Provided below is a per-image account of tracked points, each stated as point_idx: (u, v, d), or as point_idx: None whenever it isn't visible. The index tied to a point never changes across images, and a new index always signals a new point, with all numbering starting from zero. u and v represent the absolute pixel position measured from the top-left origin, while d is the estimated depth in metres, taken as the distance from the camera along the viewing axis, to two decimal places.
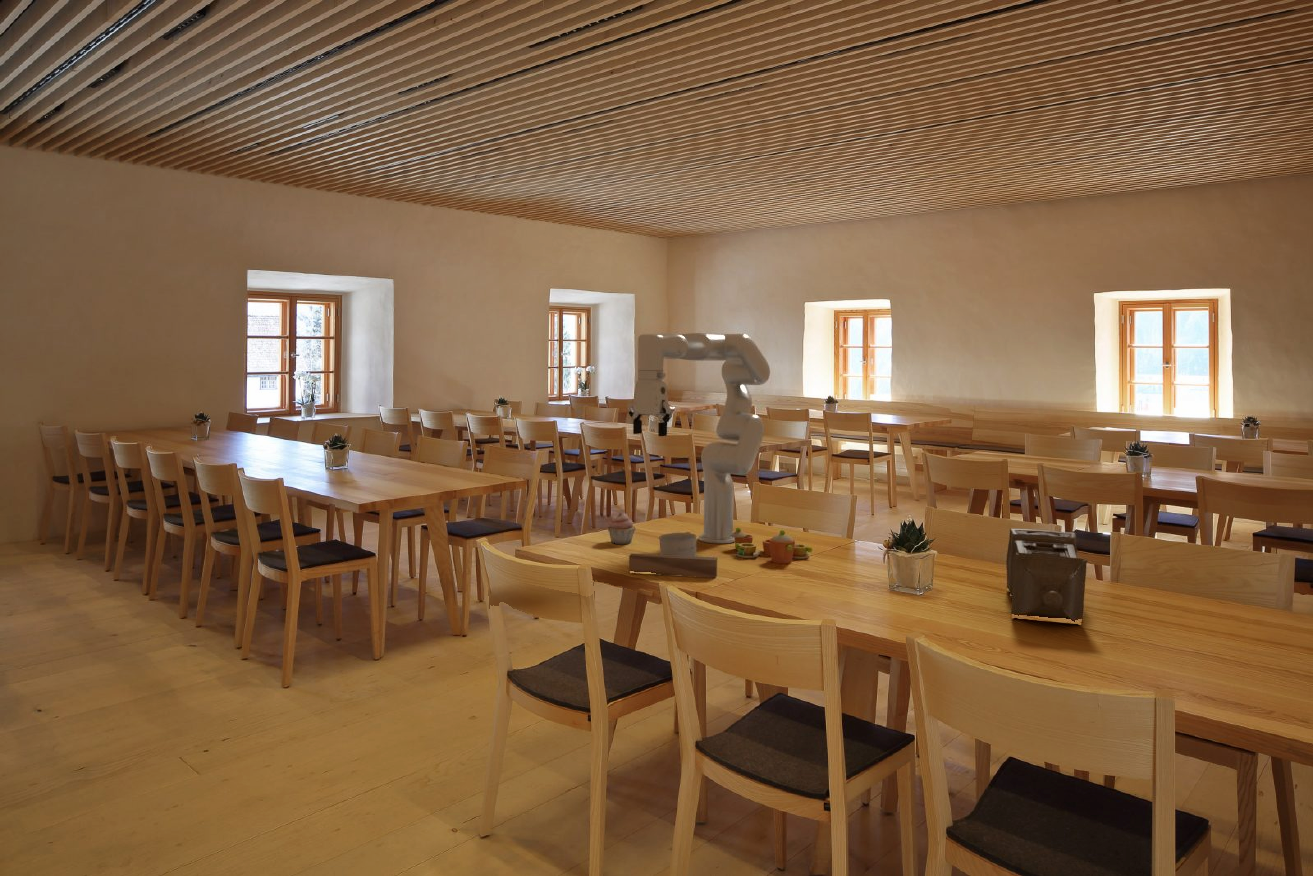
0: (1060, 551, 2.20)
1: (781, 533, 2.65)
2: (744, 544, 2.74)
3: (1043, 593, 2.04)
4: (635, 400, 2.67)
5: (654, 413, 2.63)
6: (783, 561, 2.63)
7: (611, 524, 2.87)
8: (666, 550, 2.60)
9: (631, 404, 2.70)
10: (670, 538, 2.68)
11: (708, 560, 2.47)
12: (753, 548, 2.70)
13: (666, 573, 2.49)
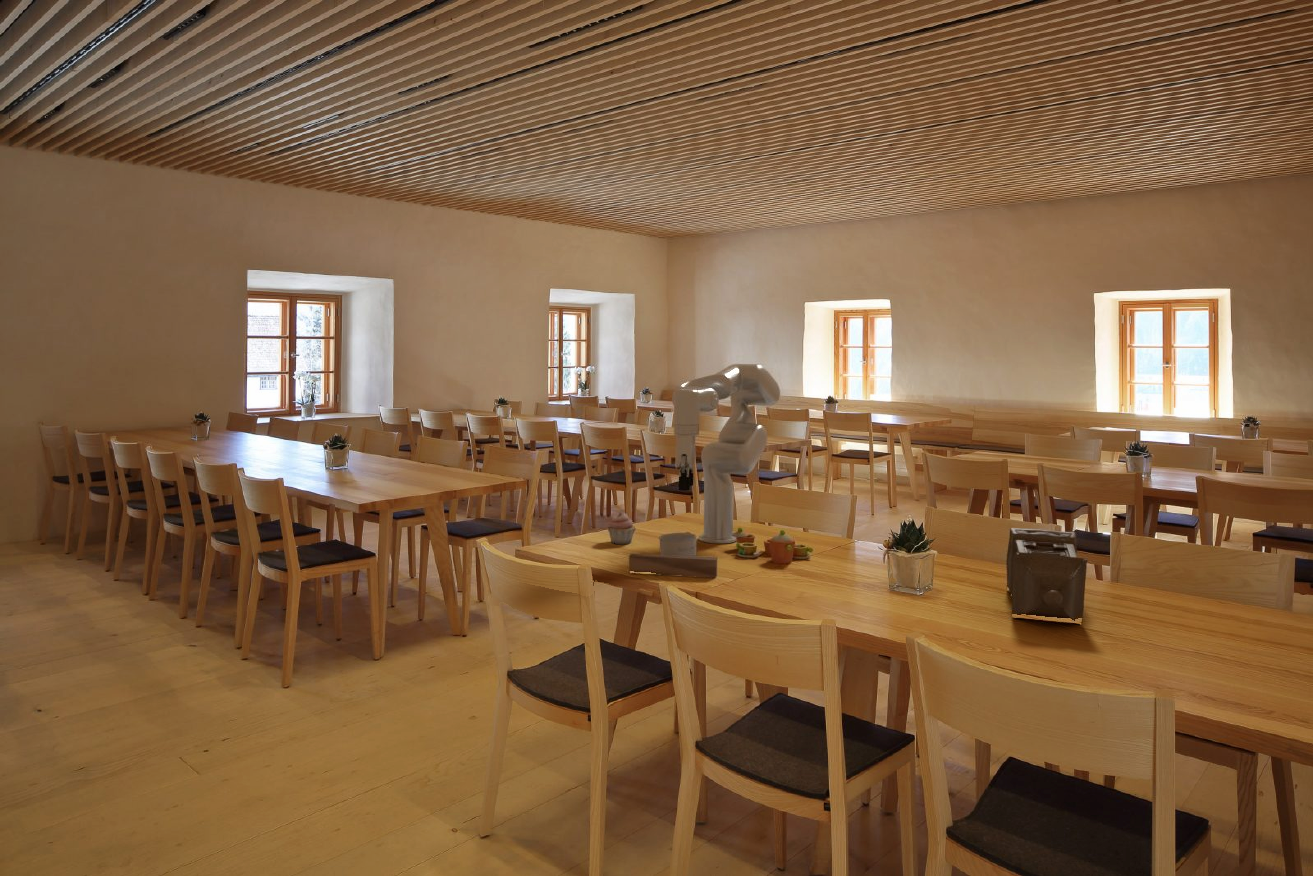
0: (1060, 550, 2.21)
1: (781, 533, 2.65)
2: (745, 544, 2.74)
3: (1044, 592, 2.04)
4: (691, 455, 2.69)
5: (694, 463, 2.76)
6: (783, 561, 2.63)
7: (611, 524, 2.87)
8: (666, 550, 2.60)
9: (685, 462, 2.67)
10: (670, 538, 2.68)
11: (708, 560, 2.47)
12: (754, 548, 2.71)
13: (666, 573, 2.49)
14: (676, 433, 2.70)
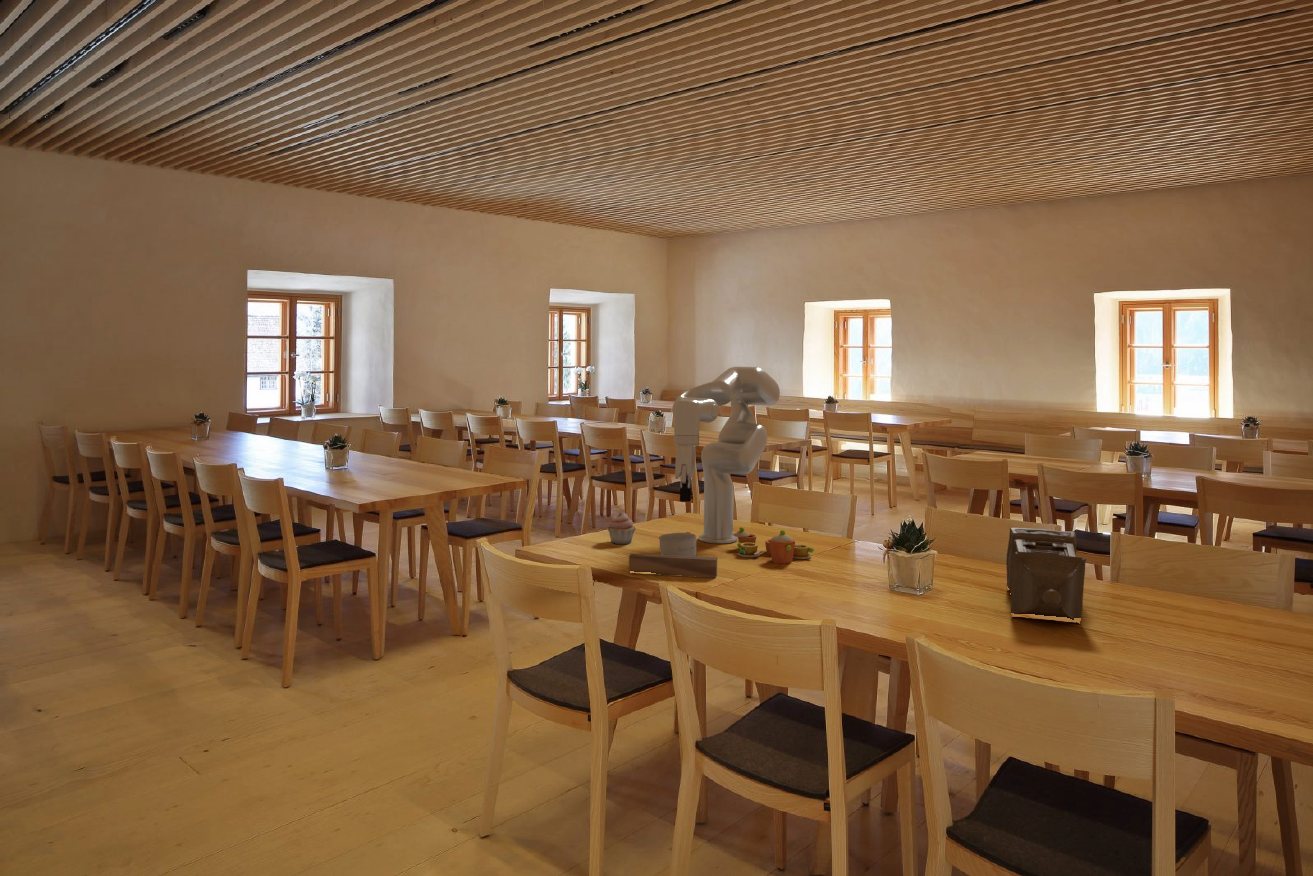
0: (1059, 550, 2.21)
1: (781, 533, 2.65)
2: (746, 544, 2.75)
3: (1042, 591, 2.05)
4: (691, 465, 2.69)
5: (693, 474, 2.76)
6: (783, 561, 2.63)
7: (611, 524, 2.87)
8: (666, 550, 2.60)
9: (685, 477, 2.69)
10: (670, 538, 2.68)
11: (708, 560, 2.47)
12: (754, 548, 2.71)
13: (666, 573, 2.49)
14: (676, 443, 2.70)
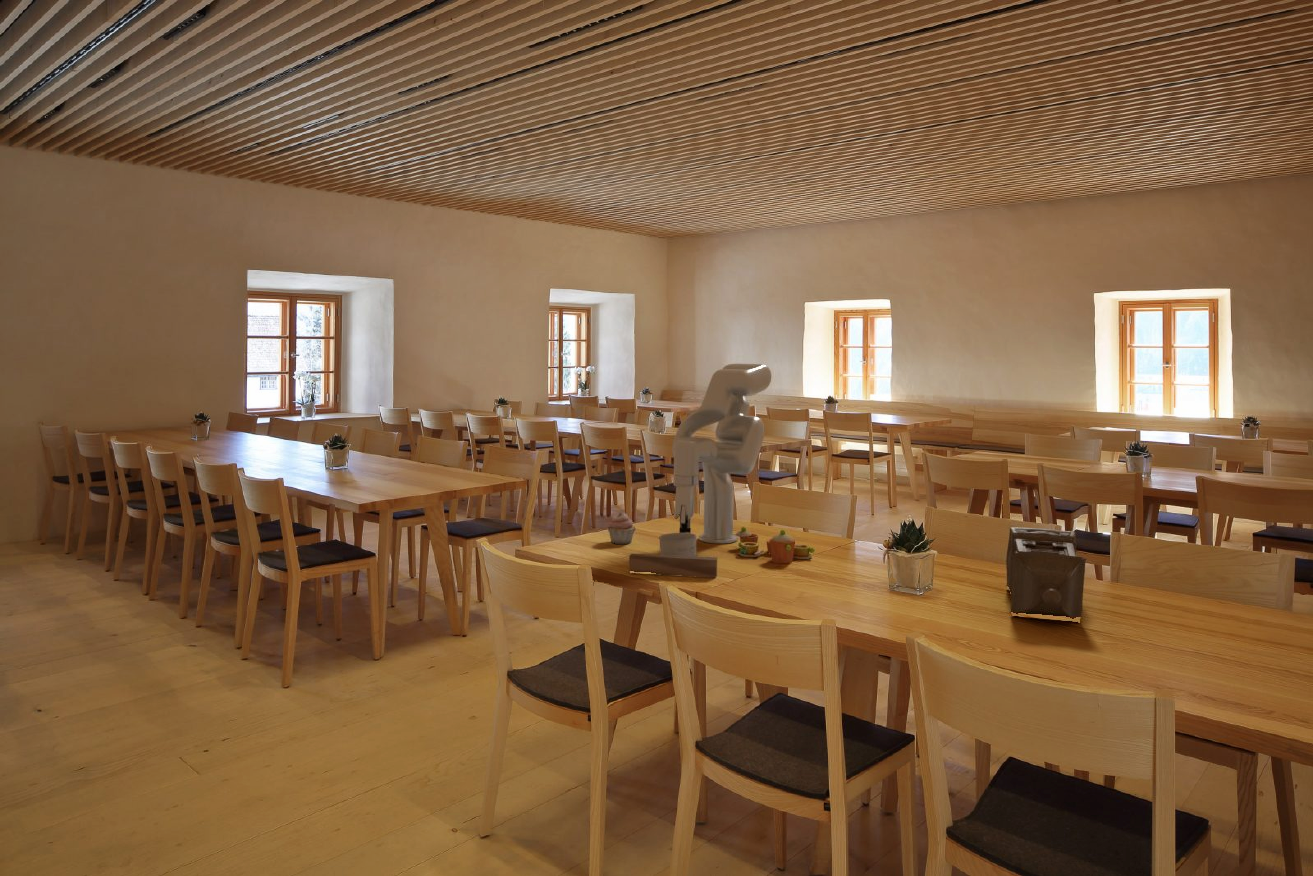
0: (1059, 549, 2.22)
1: (781, 533, 2.65)
2: (747, 543, 2.75)
3: (1042, 590, 2.05)
4: (691, 506, 2.70)
5: (693, 513, 2.78)
6: (782, 561, 2.63)
7: (611, 524, 2.87)
8: (666, 550, 2.60)
9: (685, 517, 2.70)
10: (670, 538, 2.68)
11: (708, 560, 2.47)
12: (755, 547, 2.71)
13: (666, 573, 2.49)
14: (676, 484, 2.72)
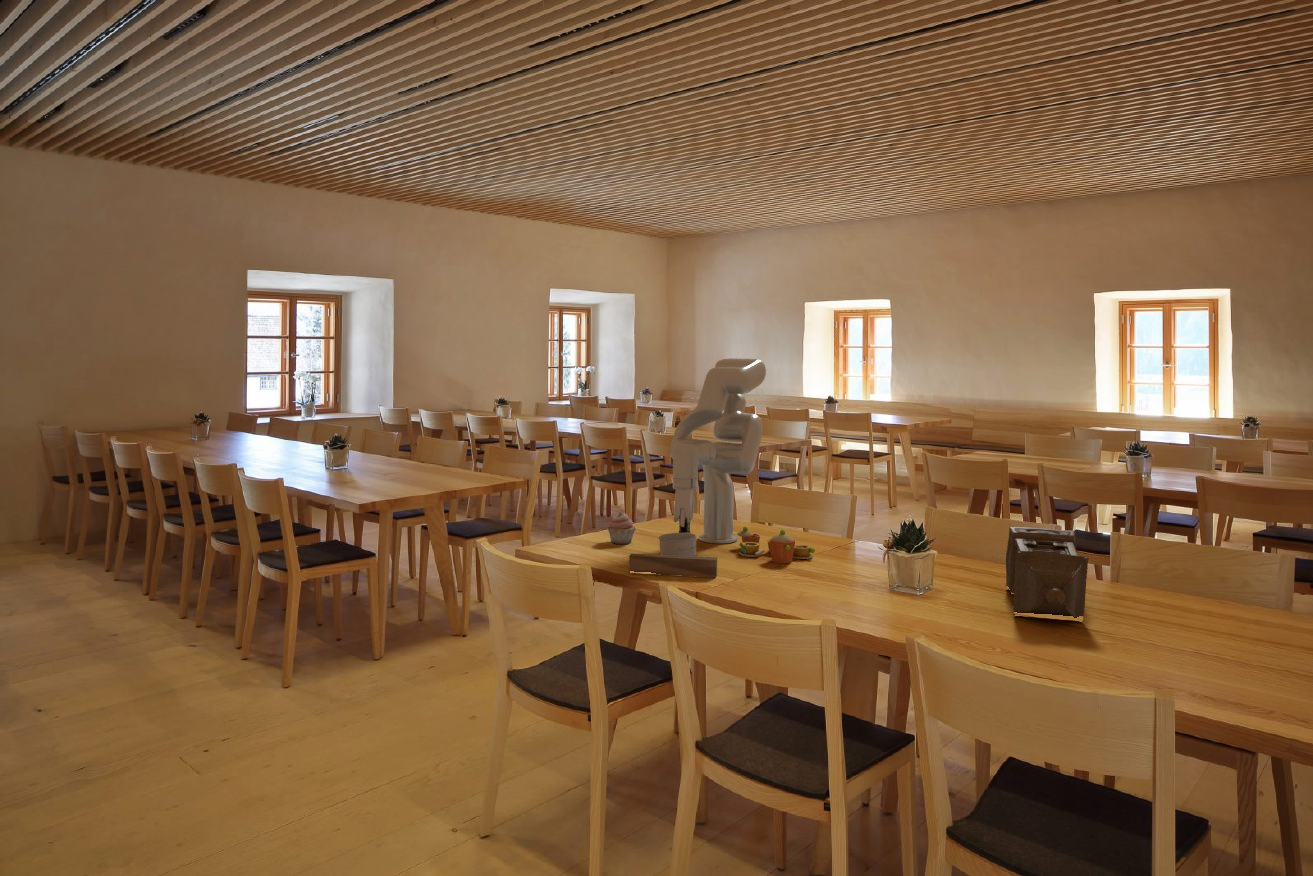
0: (1060, 549, 2.22)
1: (781, 533, 2.65)
2: (748, 543, 2.75)
3: (1046, 590, 2.06)
4: (690, 509, 2.68)
5: (692, 516, 2.76)
6: (782, 561, 2.63)
7: (611, 524, 2.87)
8: (666, 550, 2.60)
9: (684, 520, 2.68)
10: (670, 538, 2.68)
11: (708, 560, 2.47)
12: (755, 547, 2.72)
13: (666, 573, 2.49)
14: (675, 487, 2.70)
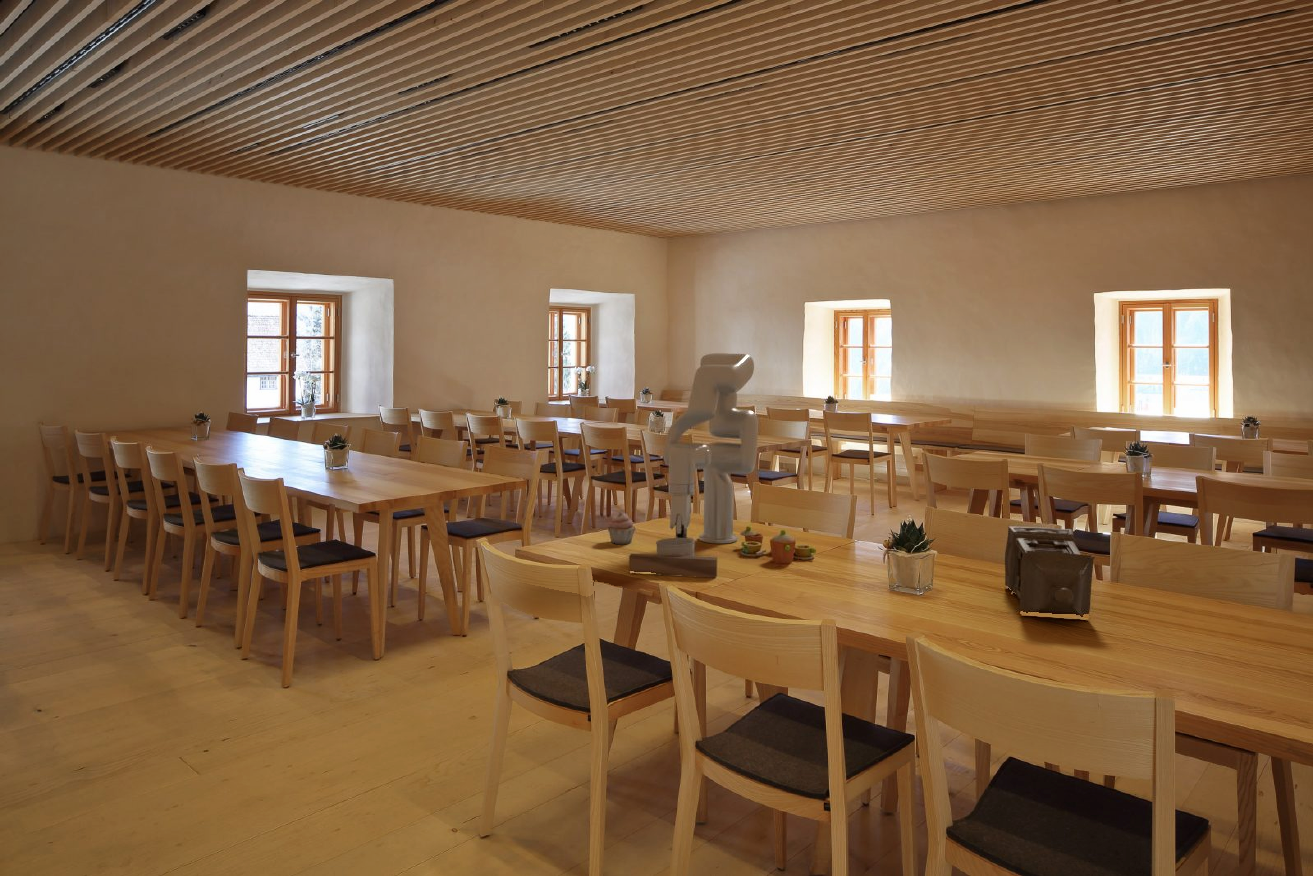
0: (1061, 548, 2.24)
1: (781, 533, 2.65)
2: (750, 543, 2.76)
3: (1054, 590, 2.06)
4: (687, 515, 2.60)
5: (689, 522, 2.68)
6: (782, 561, 2.63)
7: (611, 524, 2.87)
8: None
9: (681, 527, 2.60)
10: (671, 543, 2.61)
11: (708, 560, 2.47)
12: (757, 547, 2.72)
13: (666, 573, 2.49)
14: (671, 492, 2.62)
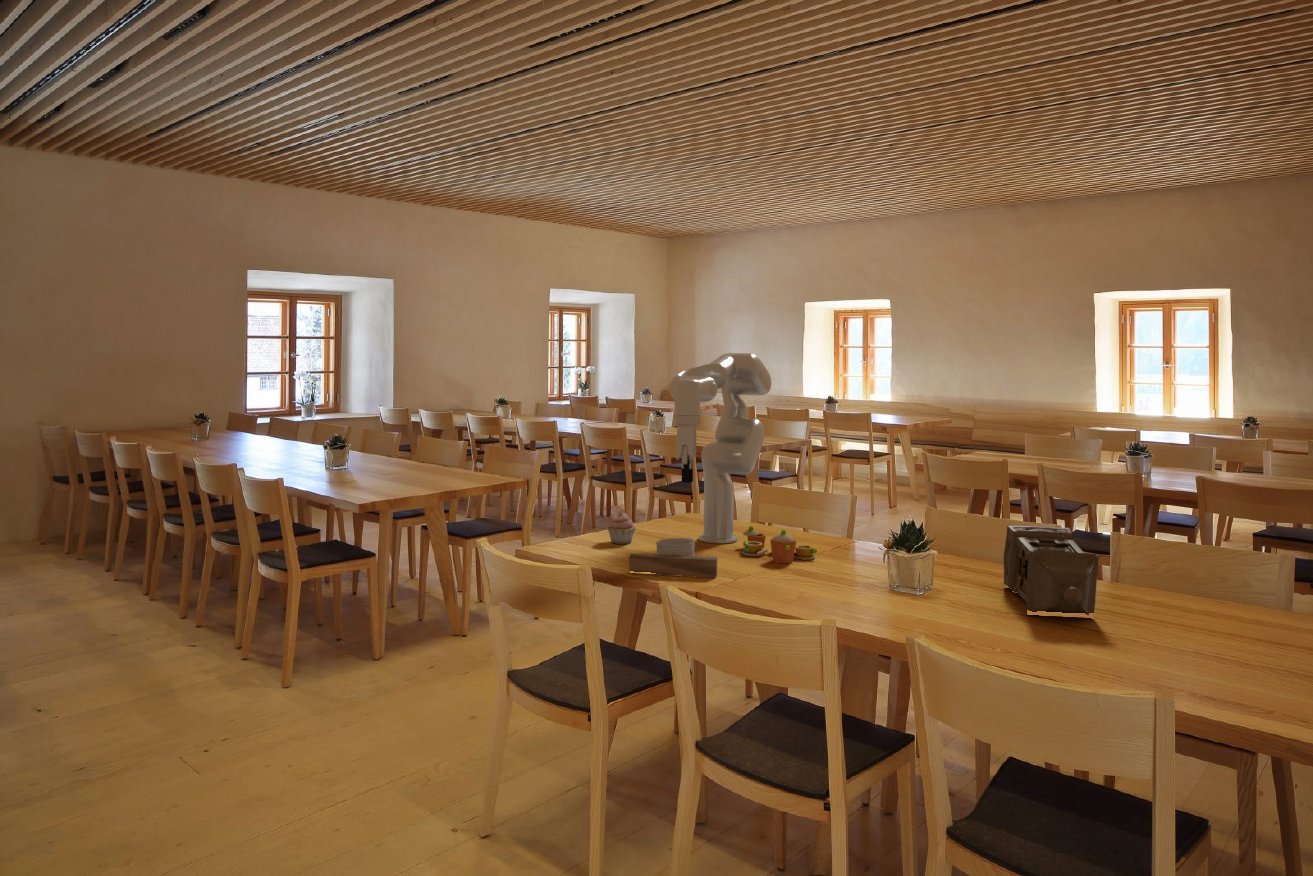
0: (1062, 547, 2.25)
1: (782, 533, 2.65)
2: (752, 542, 2.76)
3: (1062, 589, 2.07)
4: (692, 446, 2.64)
5: (695, 454, 2.72)
6: (782, 561, 2.63)
7: (611, 524, 2.87)
8: None
9: (687, 457, 2.64)
10: (671, 543, 2.61)
11: (708, 560, 2.47)
12: (758, 546, 2.72)
13: (666, 573, 2.49)
14: (676, 424, 2.65)
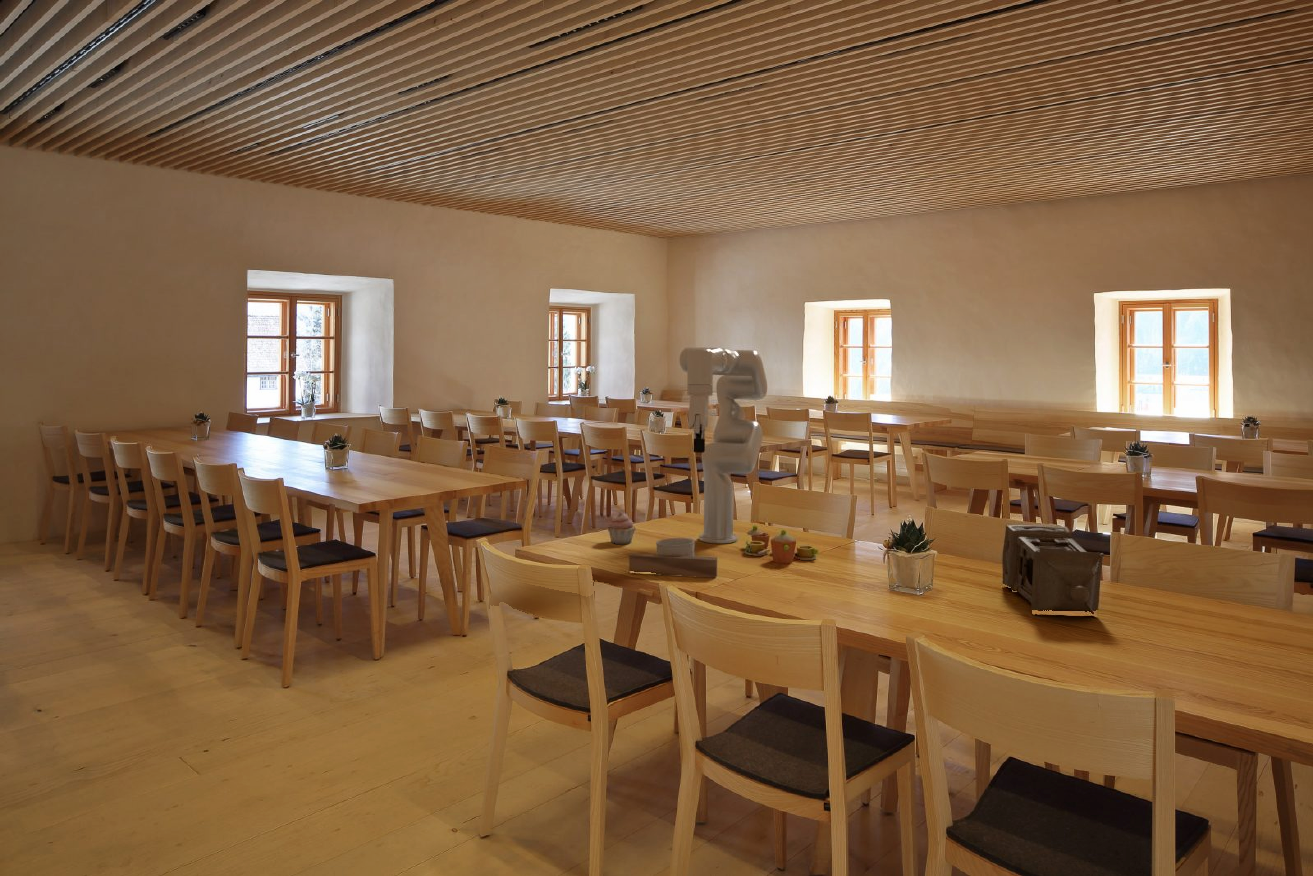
0: (1063, 545, 2.26)
1: (782, 533, 2.65)
2: (754, 542, 2.77)
3: (1068, 588, 2.08)
4: (705, 415, 2.65)
5: (707, 425, 2.72)
6: (781, 561, 2.64)
7: (611, 524, 2.87)
8: None
9: (699, 426, 2.65)
10: (671, 543, 2.61)
11: (708, 560, 2.47)
12: (759, 546, 2.73)
13: (666, 573, 2.49)
14: (689, 393, 2.66)
